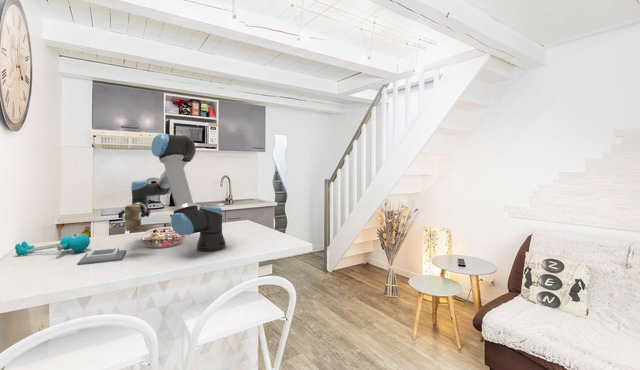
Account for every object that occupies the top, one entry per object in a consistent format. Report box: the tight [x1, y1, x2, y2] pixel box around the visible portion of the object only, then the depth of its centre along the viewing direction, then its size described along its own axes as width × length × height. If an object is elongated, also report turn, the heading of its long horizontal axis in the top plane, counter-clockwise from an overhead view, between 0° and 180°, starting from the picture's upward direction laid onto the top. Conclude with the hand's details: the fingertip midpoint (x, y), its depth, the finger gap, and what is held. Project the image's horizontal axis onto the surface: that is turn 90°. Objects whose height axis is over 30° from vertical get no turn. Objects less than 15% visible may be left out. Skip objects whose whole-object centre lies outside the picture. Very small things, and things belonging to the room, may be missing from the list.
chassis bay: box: [77, 247, 127, 266], centre depth 149 cm, size 17×15×3 cm
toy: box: [14, 232, 91, 256], centre depth 156 cm, size 22×10×30 cm
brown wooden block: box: [124, 204, 142, 232], centre depth 153 cm, size 6×6×12 cm
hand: (131, 217), depth 149 cm, fingers closed on brown wooden block, 6 cm apart
